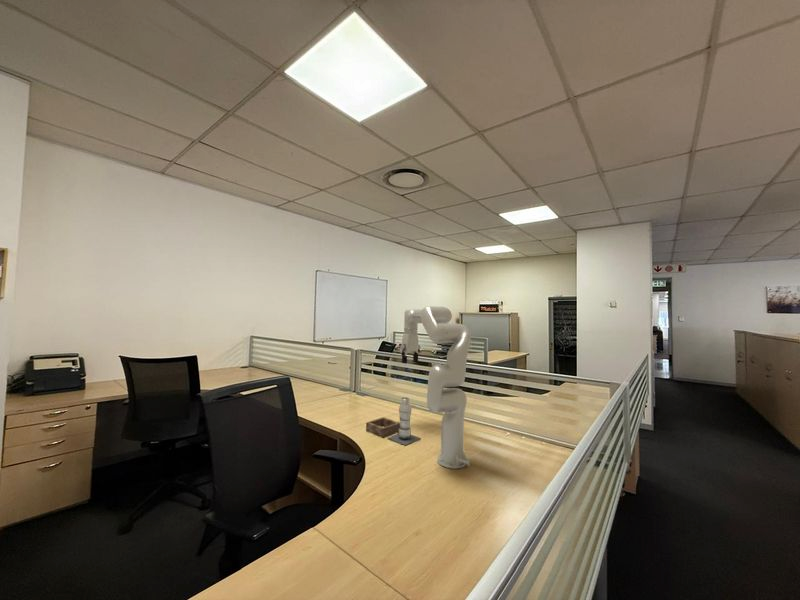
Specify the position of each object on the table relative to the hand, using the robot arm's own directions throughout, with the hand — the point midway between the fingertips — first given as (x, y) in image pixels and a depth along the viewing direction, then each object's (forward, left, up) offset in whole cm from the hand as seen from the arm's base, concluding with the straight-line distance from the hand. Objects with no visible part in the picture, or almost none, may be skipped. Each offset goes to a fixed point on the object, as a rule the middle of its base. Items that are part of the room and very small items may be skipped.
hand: (410, 362), depth 182 cm
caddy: (+6, +14, -36) cm, 39 cm away
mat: (-9, +14, -36) cm, 40 cm away
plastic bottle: (-9, +14, -36) cm, 40 cm away
